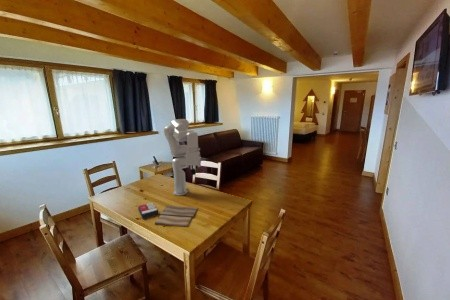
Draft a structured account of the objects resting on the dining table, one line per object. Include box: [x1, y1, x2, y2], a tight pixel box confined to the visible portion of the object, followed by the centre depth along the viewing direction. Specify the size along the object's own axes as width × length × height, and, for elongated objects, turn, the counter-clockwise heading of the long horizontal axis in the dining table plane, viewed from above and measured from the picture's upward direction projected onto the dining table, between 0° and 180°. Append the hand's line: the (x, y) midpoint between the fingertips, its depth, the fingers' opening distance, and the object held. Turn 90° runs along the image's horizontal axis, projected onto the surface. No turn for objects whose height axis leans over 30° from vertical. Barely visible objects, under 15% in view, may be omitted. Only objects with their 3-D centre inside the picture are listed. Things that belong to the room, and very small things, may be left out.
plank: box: [154, 214, 192, 227], centre depth 142 cm, size 9×22×1 cm, turn 83°
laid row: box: [159, 205, 198, 219], centre depth 153 cm, size 12×24×1 cm, turn 83°
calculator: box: [137, 202, 159, 220], centre depth 154 cm, size 11×4×15 cm
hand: (193, 174), depth 153 cm, fingers closed
